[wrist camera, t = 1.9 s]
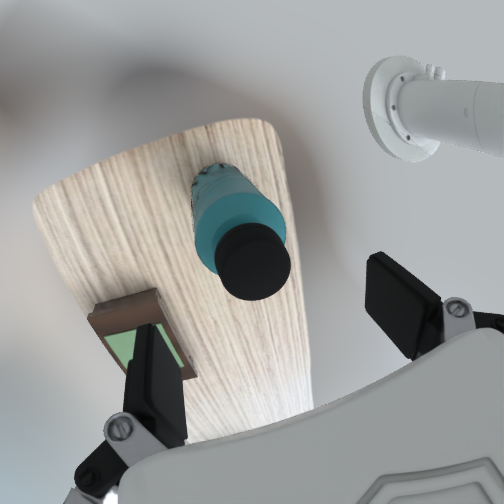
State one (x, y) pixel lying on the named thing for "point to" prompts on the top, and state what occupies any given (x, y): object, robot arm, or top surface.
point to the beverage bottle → (239, 233)
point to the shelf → (125, 325)
